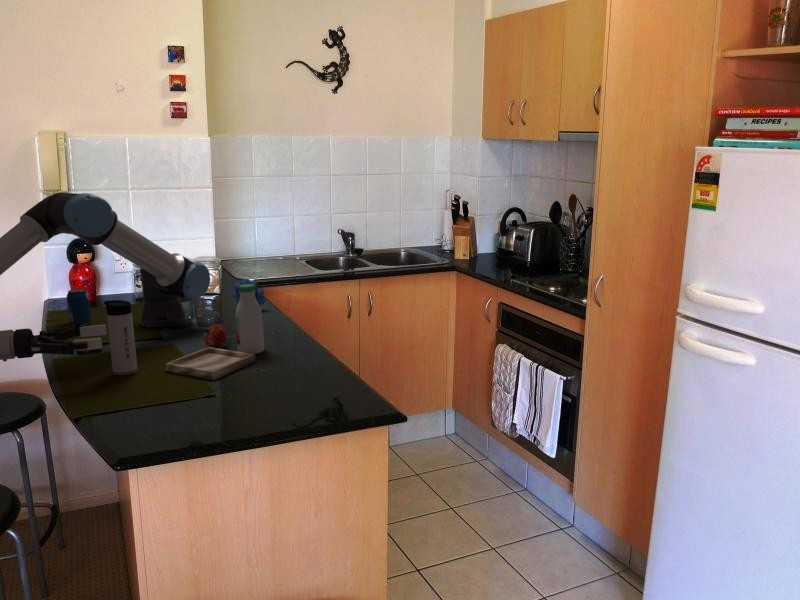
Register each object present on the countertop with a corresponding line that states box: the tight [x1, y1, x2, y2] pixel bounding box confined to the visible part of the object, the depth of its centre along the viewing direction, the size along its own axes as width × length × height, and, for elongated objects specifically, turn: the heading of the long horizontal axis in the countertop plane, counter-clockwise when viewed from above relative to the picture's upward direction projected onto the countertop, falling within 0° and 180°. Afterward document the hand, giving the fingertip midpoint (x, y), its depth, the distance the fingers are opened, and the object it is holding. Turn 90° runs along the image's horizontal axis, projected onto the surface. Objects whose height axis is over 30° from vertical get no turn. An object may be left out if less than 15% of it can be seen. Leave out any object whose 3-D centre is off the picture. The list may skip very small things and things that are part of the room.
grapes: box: [231, 278, 266, 309], centre depth 257 cm, size 12×7×12 cm, turn 94°
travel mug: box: [103, 299, 139, 376], centre depth 192 cm, size 6×7×20 cm
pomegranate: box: [203, 324, 230, 349], centre depth 215 cm, size 7×7×10 cm
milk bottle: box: [235, 284, 265, 355], centre depth 209 cm, size 8×8×20 cm
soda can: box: [66, 288, 93, 326], centre depth 243 cm, size 7×7×12 cm
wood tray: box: [164, 346, 256, 381], centre depth 198 cm, size 17×17×2 cm
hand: (104, 336), depth 190 cm, fingers open, 13 cm apart
